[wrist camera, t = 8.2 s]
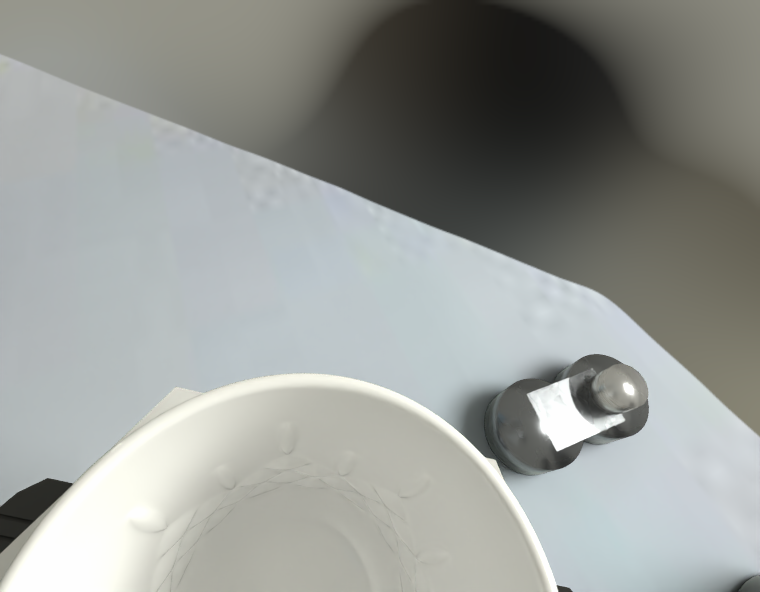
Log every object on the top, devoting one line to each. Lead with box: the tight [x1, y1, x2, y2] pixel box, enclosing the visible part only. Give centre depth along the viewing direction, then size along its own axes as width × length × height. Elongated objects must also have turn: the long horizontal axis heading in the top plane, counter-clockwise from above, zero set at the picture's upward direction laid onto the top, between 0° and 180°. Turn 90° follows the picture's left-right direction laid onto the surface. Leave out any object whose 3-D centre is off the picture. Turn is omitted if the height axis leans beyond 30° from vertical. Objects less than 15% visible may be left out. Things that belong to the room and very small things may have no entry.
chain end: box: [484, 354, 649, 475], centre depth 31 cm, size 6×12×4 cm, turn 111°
